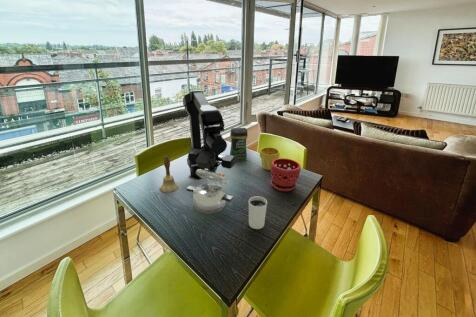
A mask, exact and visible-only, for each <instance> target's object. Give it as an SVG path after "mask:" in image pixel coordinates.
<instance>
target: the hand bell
mask: <svg viewBox="0 0 476 317" xmlns="http://www.w3.org/2000/svg"><path fill="white" fill-rule="evenodd" d="M163 166H164V169H165V175H164V176H163V178H162V179H163V181H162V184H161V185H160V187H159V190H160V191H161V192H164V193H172V192H175V191H177V190H178V189H179V184H178V183H176V181H175V179H174V176H173V175H171V173H170V166H171V160H170V158H169V156H168V155H165V156H164V159H163Z"/></svg>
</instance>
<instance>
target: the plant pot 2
mask: <svg viewBox="0 0 476 317" xmlns="http://www.w3.org/2000/svg"><path fill="white" fill-rule="evenodd" d="M275 164H276V165H275ZM284 165H285V166H284ZM289 168H290V169H289ZM301 169H302V165H301V164H300V163H299V162H298V161H297V160H293V159H291V158H281V157H279V159H275V160H273V161H272V165H271V170H270V176H271V180H270V184H271V186H272V188H273V189H275V190H277V191H280V192H290V191H293V190H294V189H295V188H296V187H297V181H298V179H299V177H300V174H301Z"/></svg>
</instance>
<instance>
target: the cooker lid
mask: <svg viewBox="0 0 476 317" xmlns="http://www.w3.org/2000/svg"><path fill="white" fill-rule="evenodd" d="M196 174H197V175H198V176H199V177H201V179H203V180H205V181H208V182H211V183H212V184H217V185H226V184H228V179H227V178H226V175H225V174H224V173H217V172H216V173H215V172H212V171H209V170H208V169H197V171H196Z"/></svg>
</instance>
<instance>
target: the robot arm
mask: <svg viewBox="0 0 476 317" xmlns="http://www.w3.org/2000/svg"><path fill="white" fill-rule="evenodd" d="M182 105H183V107H184V111H185V112H186V113H187V115H188V116H189V117H188V118H189V127H190V128H189V130H190V140H191V147H190V149H189V150H188V154H187V158H186V161H187V162H186V163H187V164H186V165H187V166H188V168H189V171H190V174H189V175H188V178H191V179H196V180H201V179H202V178H201V177H199V176H198V175H197V174H196V171H197V169H205V170H209V171H212V172H215V173H217V170H218V168H219V167H220V166H221V167H222V168H224V169H228V170H229V169H230V170H231V169H232V168H233V167H234V166H235V164H236V163H237V161H236V157H235V156H232V155H230V154H225V156H224V157H223V156H222V155H221V154H222V153H224V152H225V151H226V150H227V146H228V142H227V141H226V139H225V138H224V137H223V136H222V134H221V132H224V131H225V121H224V118H223V115H222V112H220V110H219V109H218V108H217V107H216V106H214V105H213V106H212V105H211V104H210V102H209V101H208V99H207V98H206V97H205V94H204V91H203V90H201V89H199V90H190V91H189V93H186V94H185V95H184V96H183V99H182ZM201 132H202V136H201ZM201 137H202V139H201ZM202 144H203V145H202Z"/></svg>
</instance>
